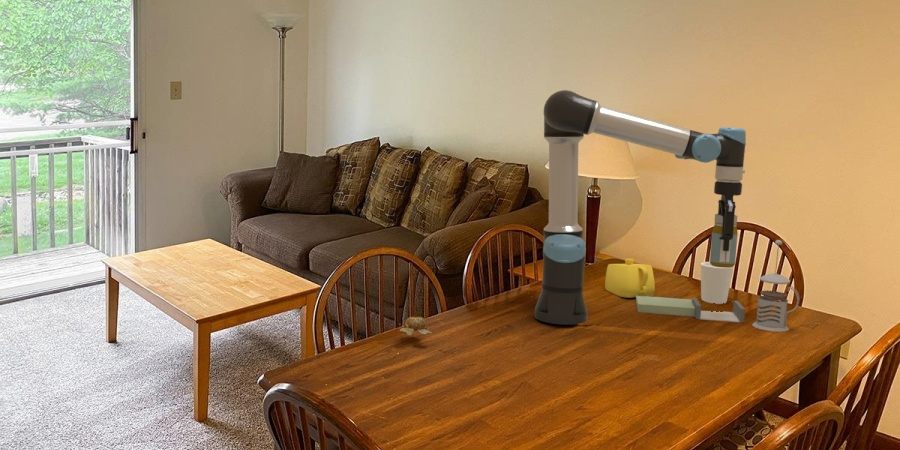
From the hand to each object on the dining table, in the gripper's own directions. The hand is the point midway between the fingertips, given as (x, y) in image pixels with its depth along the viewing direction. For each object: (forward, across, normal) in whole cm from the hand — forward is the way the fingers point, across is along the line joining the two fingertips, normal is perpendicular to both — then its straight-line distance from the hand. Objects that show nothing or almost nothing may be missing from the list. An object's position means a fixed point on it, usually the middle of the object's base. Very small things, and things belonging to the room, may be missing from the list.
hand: (722, 259), depth 232 cm
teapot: (+16, +17, +25) cm, 35 cm away
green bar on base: (+17, +2, +10) cm, 20 cm away
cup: (+17, +16, -1) cm, 24 cm away
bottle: (+2, 0, 0) cm, 2 cm away
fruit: (+18, -47, +80) cm, 95 cm away
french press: (+17, -8, -14) cm, 24 cm away
